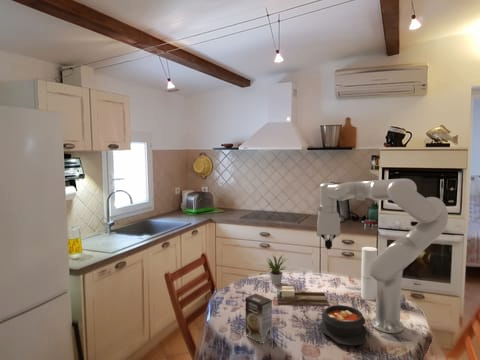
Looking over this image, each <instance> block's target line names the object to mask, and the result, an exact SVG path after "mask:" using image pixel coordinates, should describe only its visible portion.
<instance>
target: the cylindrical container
mask: <svg viewBox="0 0 480 360" xmlns="http://www.w3.org/2000/svg"><path fill="white" fill-rule="evenodd" d="M377 256H378V248H376V247H373V246H363V247H361V271H360V272H361V274H360V277H361V279H360V280H361V282H360V289H361V290H360V297H361V298H362V299H363V300H367V301H374V300H375V301H376V283H377V280H375V279H374V278H373V277H372V276H371V274H370V271H369V266H370V263H371V262H372V261H373V260H374V259H375V258H376V257H377Z"/></svg>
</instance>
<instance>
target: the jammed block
mask: <svg viewBox="0 0 480 360" xmlns="http://www.w3.org/2000/svg"><path fill="white" fill-rule="evenodd" d="M281 291H282V298H295V292H296V291H295V287H294V286H291V285H290V286H287V285H286V286H285V285H284V286H282V285H281Z"/></svg>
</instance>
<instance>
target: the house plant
mask: <svg viewBox="0 0 480 360" xmlns="http://www.w3.org/2000/svg"><path fill="white" fill-rule="evenodd" d="M283 256H284V254H282V255H280V256H279V258H278V260H277V258H276V256H275V255H274V254H271V257H272V258H273V261H274V263H273V261H272V260H271V259H270V258H269V257H267V260H266V262H267V263H268V264H267V265H266V266H267V268H269V269H267V271H269V275H270V281H271V284H272V285H273V286H280V285H281V284H282V279H283V278H282V277H283V270H286V268H287V267H286V266H282V265H283V264H284V262H285V261H287V260H288V258H283ZM281 259H282V260H281ZM281 266H282V267H281ZM286 271H287V270H286Z"/></svg>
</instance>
